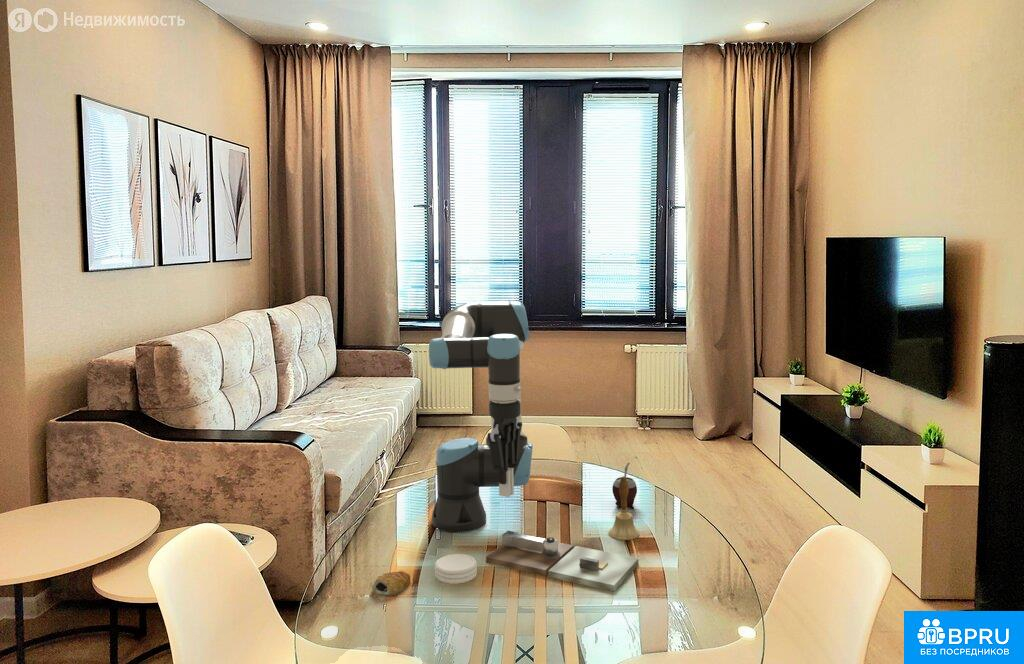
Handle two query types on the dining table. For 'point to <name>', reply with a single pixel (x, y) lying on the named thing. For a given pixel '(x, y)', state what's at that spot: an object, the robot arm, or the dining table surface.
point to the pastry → (391, 583)
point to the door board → (569, 564)
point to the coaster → (455, 568)
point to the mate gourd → (631, 492)
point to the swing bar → (531, 542)
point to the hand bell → (623, 517)
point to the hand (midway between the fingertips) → (506, 494)
